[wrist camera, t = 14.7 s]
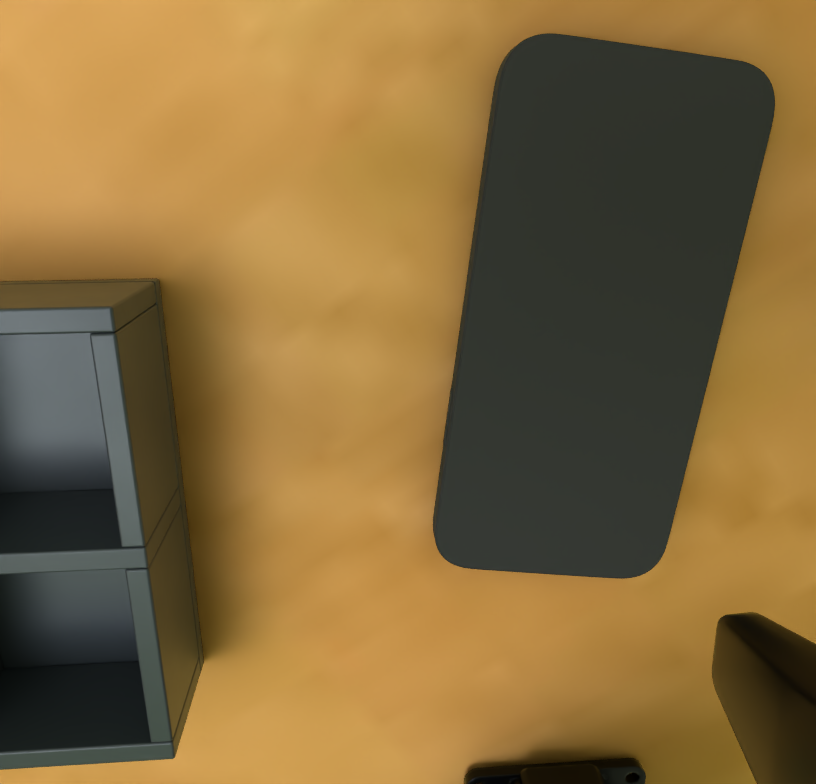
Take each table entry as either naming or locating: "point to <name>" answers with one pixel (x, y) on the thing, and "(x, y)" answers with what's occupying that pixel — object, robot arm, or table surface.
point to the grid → (91, 529)
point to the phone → (594, 301)
